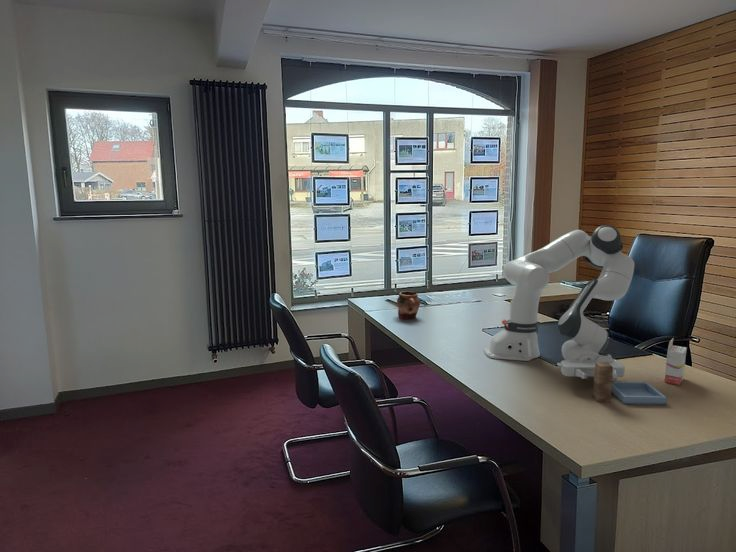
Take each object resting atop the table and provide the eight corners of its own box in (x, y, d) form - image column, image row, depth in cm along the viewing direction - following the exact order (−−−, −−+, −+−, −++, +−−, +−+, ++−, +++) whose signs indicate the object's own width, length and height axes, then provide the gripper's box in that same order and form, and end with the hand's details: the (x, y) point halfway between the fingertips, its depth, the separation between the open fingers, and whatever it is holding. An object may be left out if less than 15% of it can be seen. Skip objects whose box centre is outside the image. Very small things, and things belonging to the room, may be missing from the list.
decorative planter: (426, 321, 263) (426, 295, 260) (404, 323, 259) (404, 297, 257) (411, 313, 281) (411, 288, 279) (391, 314, 278) (391, 290, 275)
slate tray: (623, 404, 158) (624, 396, 158) (607, 388, 171) (607, 381, 171) (666, 404, 158) (666, 397, 157) (646, 389, 170) (647, 382, 170)
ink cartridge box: (680, 385, 173) (684, 344, 170) (664, 382, 176) (667, 342, 174) (684, 378, 179) (688, 339, 177) (668, 375, 182) (671, 336, 180)
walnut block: (597, 401, 160) (599, 366, 158) (592, 396, 164) (595, 362, 162) (610, 402, 160) (612, 366, 158) (605, 397, 164) (607, 362, 162)
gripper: (555, 354, 178) (568, 367, 164) (614, 354, 177) (632, 368, 163) (554, 371, 179) (567, 385, 165) (613, 371, 178) (631, 386, 164)
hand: (600, 377), depth 164 cm, fingers open, 8 cm apart
